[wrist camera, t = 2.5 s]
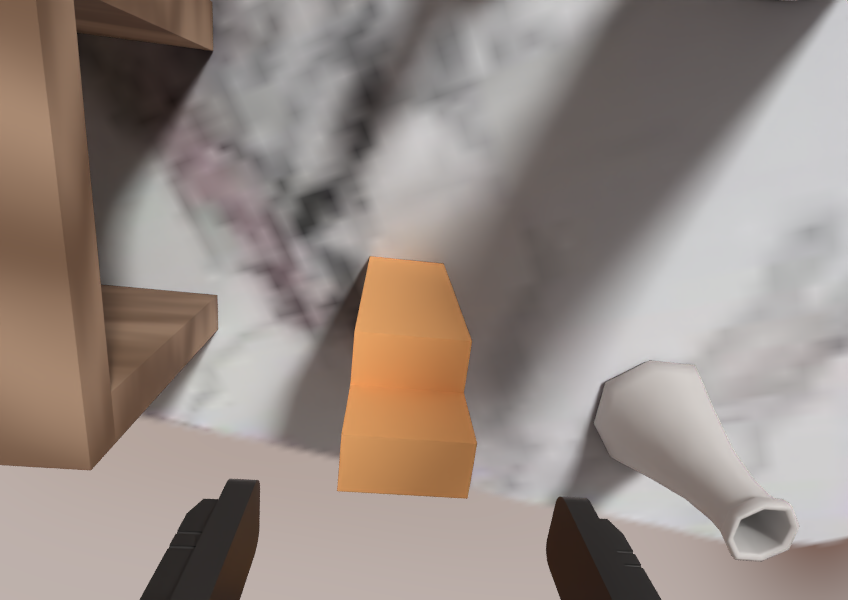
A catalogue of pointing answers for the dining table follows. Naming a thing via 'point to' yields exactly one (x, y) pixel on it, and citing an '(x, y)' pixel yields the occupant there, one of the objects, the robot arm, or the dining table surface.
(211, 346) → the dining table surface
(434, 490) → the stepped orange block
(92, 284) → the brown square frame
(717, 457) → the flask
